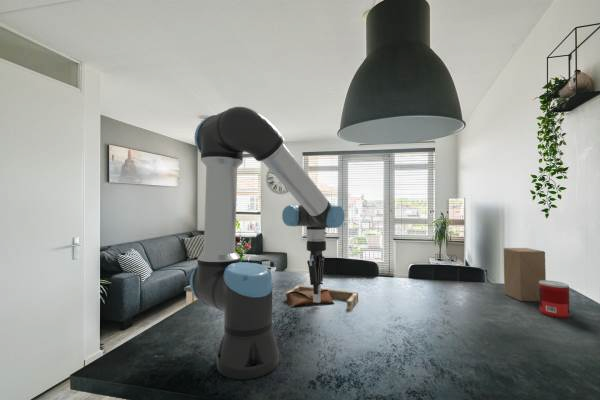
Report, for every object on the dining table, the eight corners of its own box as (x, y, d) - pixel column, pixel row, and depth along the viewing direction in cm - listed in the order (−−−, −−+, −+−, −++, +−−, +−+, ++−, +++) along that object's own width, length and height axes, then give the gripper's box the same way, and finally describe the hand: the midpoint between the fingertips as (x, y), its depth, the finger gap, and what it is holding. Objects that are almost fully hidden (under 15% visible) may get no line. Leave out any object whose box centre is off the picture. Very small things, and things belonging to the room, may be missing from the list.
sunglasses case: (291, 306, 108) (289, 289, 111) (287, 310, 113) (286, 293, 117) (336, 302, 112) (332, 285, 116) (330, 306, 118) (327, 290, 121)
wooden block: (546, 301, 113) (545, 251, 114) (521, 301, 114) (520, 251, 114) (527, 294, 123) (526, 247, 124) (503, 294, 124) (502, 247, 124)
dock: (350, 309, 105) (350, 301, 106) (285, 300, 117) (285, 292, 117) (358, 300, 116) (358, 292, 116) (297, 292, 127) (297, 285, 128)
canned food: (575, 319, 96) (574, 286, 96) (548, 317, 97) (547, 285, 98) (559, 311, 103) (559, 280, 104) (534, 309, 105) (534, 279, 105)
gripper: (319, 242, 104) (320, 308, 102) (330, 239, 115) (331, 298, 114) (300, 241, 107) (301, 305, 105) (313, 238, 118) (313, 296, 117)
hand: (316, 302), depth 110 cm, fingers closed
